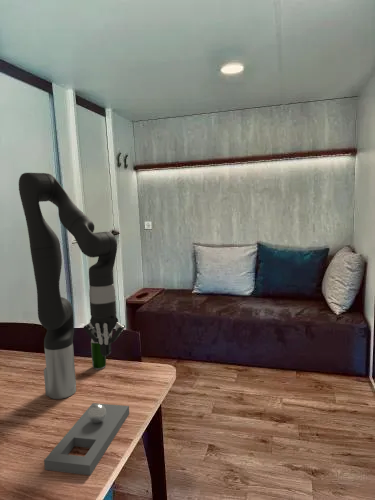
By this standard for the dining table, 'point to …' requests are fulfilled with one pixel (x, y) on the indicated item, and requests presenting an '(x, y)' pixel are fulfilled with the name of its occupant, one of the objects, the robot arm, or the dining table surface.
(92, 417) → the steel ball
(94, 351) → the beer can
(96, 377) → the dining table surface
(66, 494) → the dining table surface
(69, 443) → the hole board
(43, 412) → the dining table surface
